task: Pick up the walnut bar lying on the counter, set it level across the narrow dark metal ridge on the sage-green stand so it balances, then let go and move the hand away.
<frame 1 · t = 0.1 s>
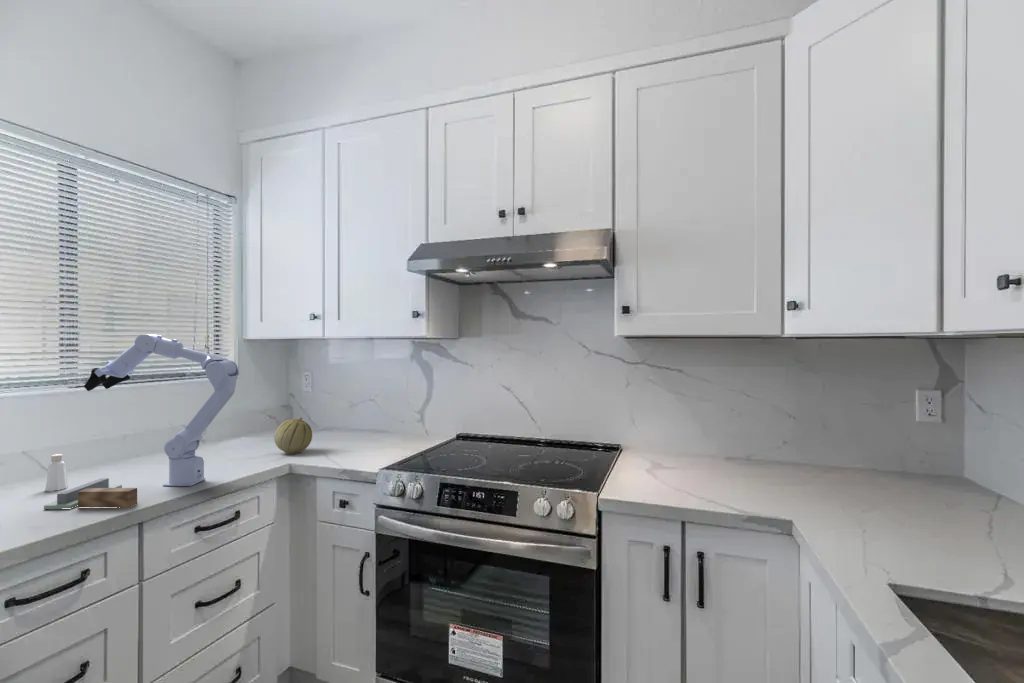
hand: (95, 387, 164), 32 cm above the worktop, tool tilted 50°, fingers open, 7 cm apart
cantaloupe: (293, 453, 211), on the worktop
pepper shaker: (56, 489, 159), on the worktop
walnut bar: (108, 507, 142), on the worktop
ridge stand: (81, 500, 148), on the worktop
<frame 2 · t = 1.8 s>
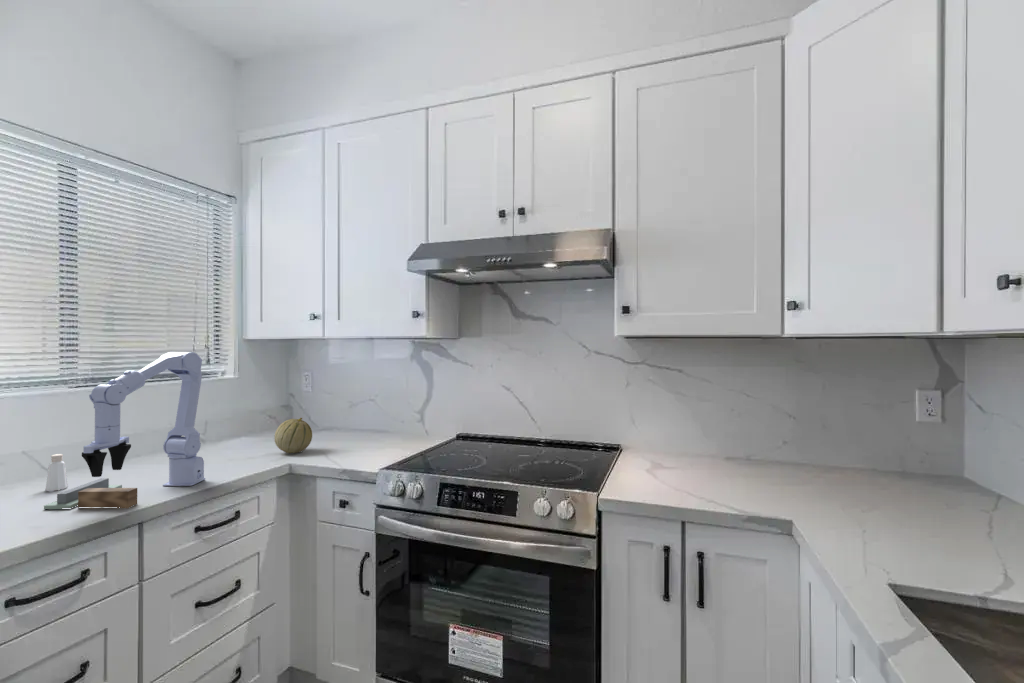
hand: (107, 473, 142), 10 cm above the worktop, tool pointing down, fingers open, 7 cm apart
nothing on the worktop moved.
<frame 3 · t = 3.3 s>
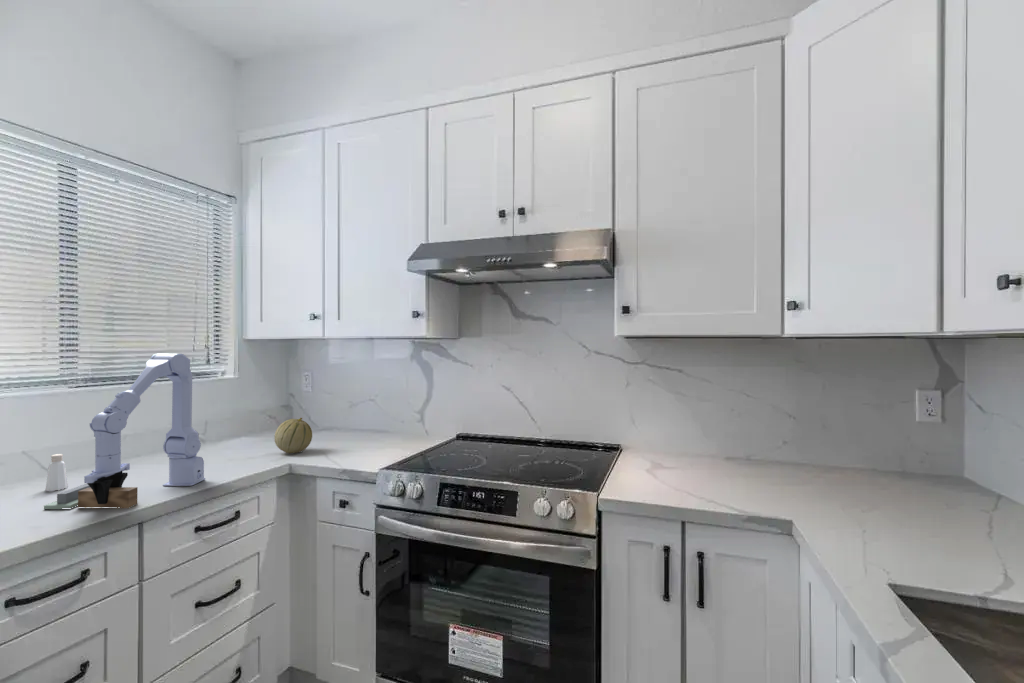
hand: (108, 501, 142), 1 cm above the worktop, tool pointing down, fingers closed on walnut bar, 4 cm apart
walnut bar: (108, 506, 142), on the worktop, touching gripper
everything else where it was.
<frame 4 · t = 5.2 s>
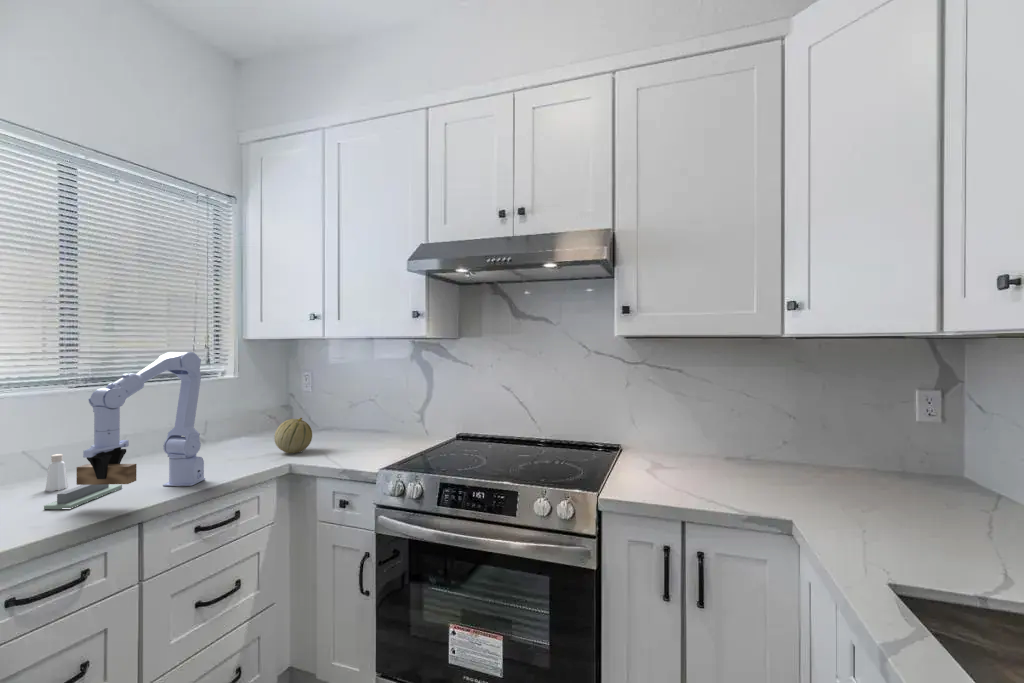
hand: (106, 476, 143), 8 cm above the worktop, tool pointing down, fingers closed on walnut bar, 3 cm apart
walnut bar: (106, 482, 142), point 7 cm above the worktop, touching gripper
everything else where it was.
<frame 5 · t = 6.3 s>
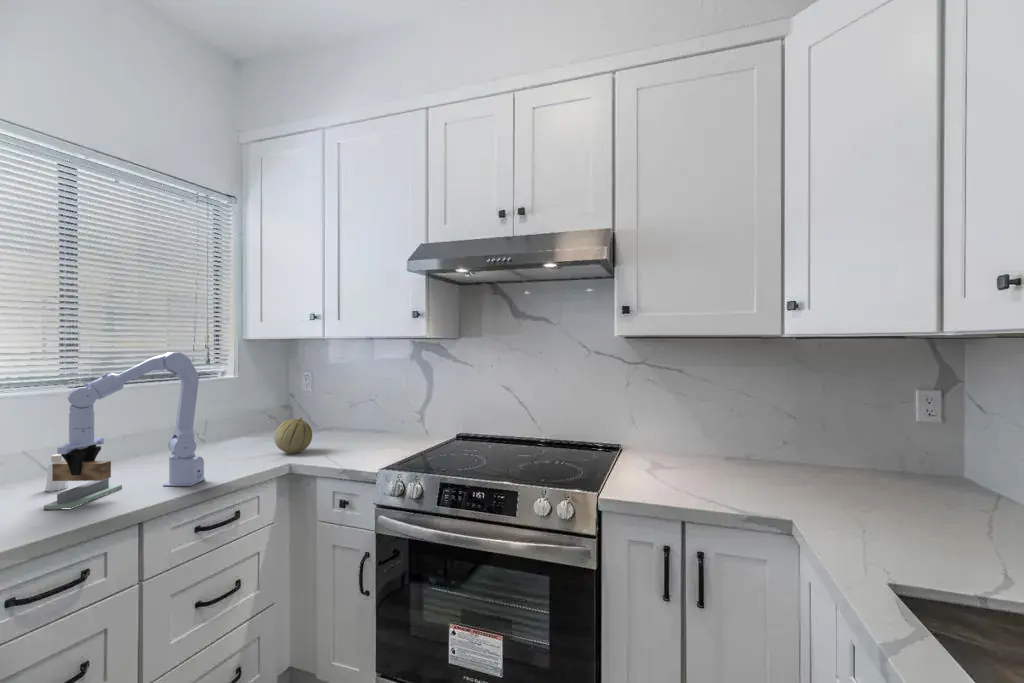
hand: (81, 473, 148), 8 cm above the worktop, tool pointing down, fingers closed on walnut bar, 3 cm apart
walnut bar: (82, 479, 148), point 6 cm above the worktop, touching gripper
everything else where it was.
when the fingers open (6 cm above the worktop, at t = 7.0 s): walnut bar stays where it is, resting on ridge stand.
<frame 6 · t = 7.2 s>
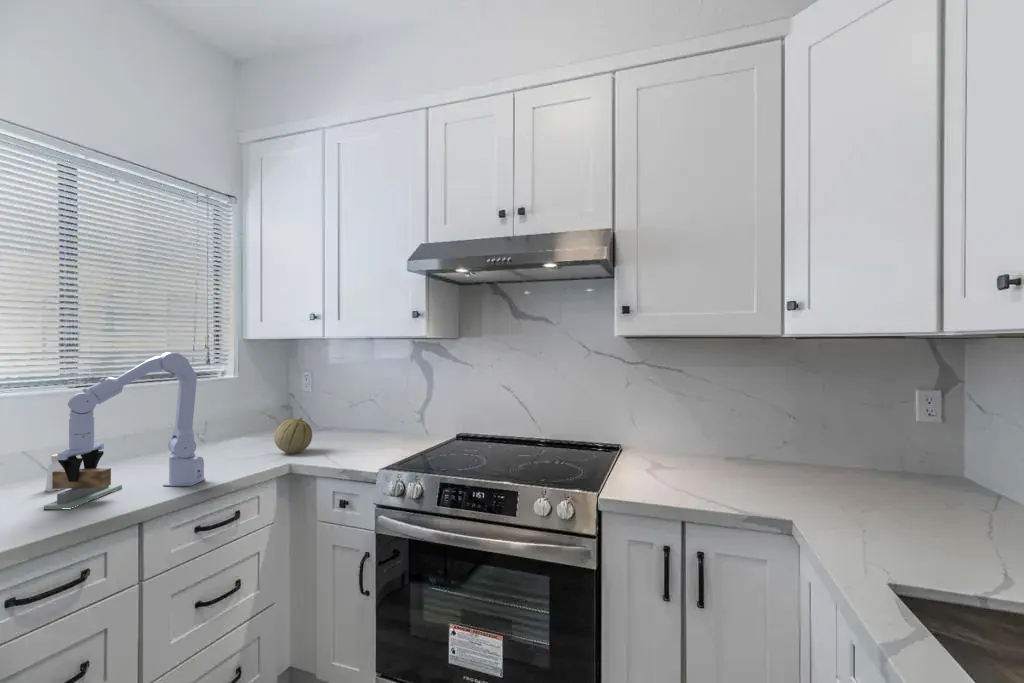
hand: (81, 478, 148), 6 cm above the worktop, tool pointing down, fingers open, 5 cm apart
walnut bar: (82, 486, 148), point 4 cm above the worktop, touching ridge stand
everything else where it was.
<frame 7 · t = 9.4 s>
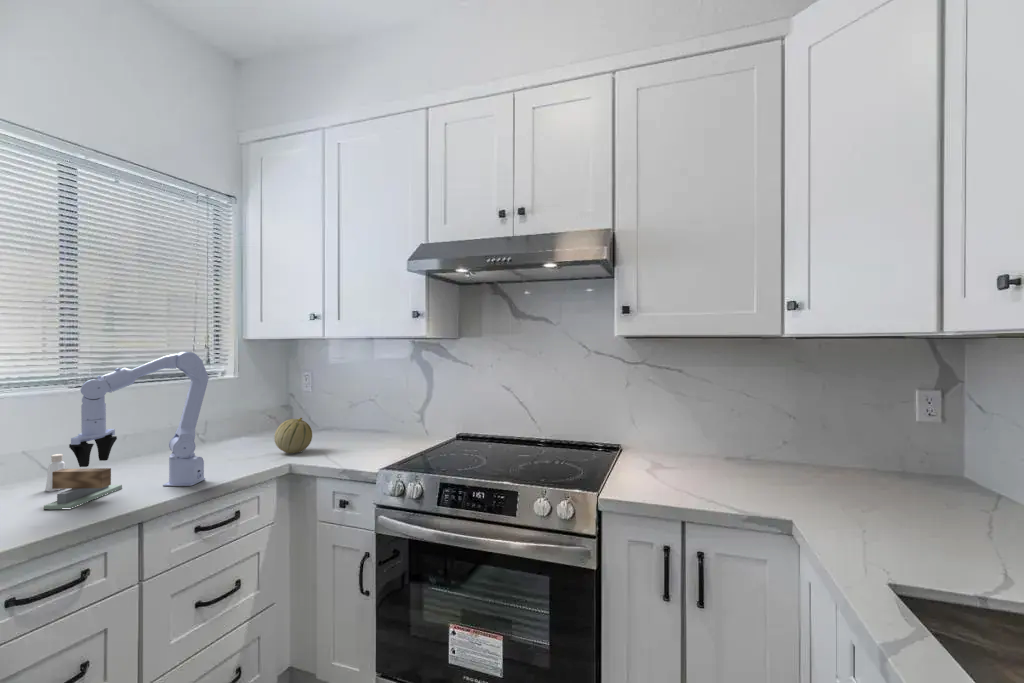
hand: (94, 463, 151), 10 cm above the worktop, tool pointing down, fingers open, 7 cm apart
nothing on the worktop moved.
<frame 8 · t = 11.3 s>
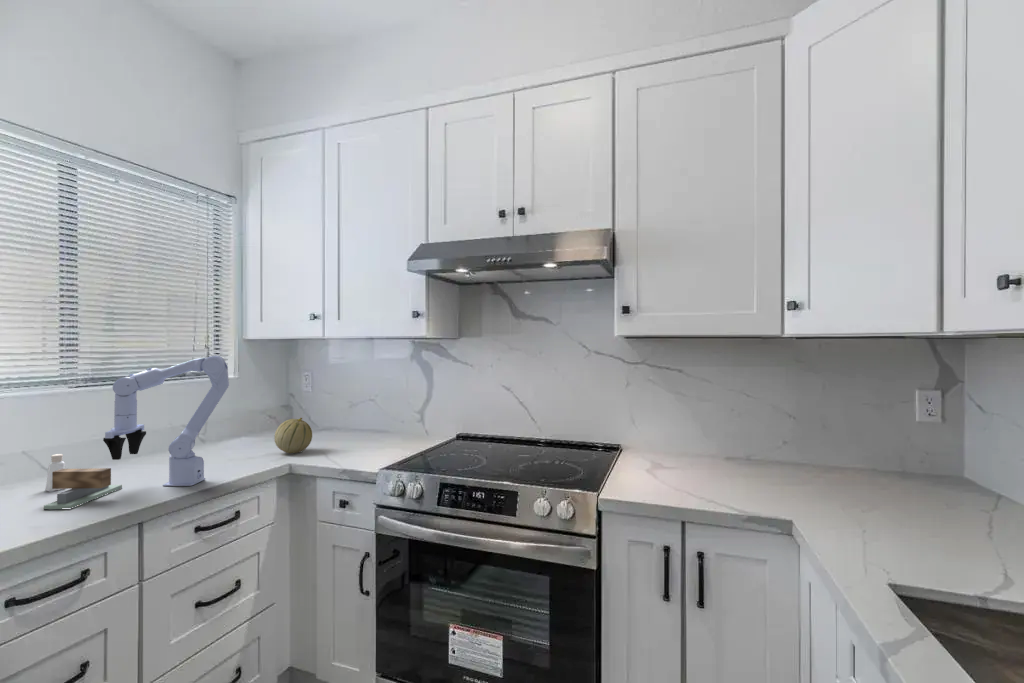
hand: (125, 456, 159), 10 cm above the worktop, tool pointing down, fingers open, 7 cm apart
nothing on the worktop moved.
at the end: walnut bar inside the target area on the ridge stand (0.1 cm from its centre), point 4.0 cm above the ridge stand's base; walnut bar tilted 0°; the gripper is holding nothing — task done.
